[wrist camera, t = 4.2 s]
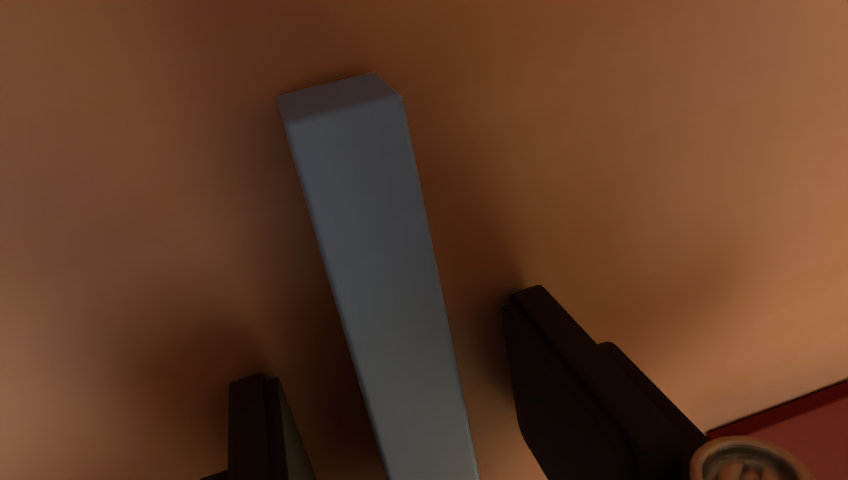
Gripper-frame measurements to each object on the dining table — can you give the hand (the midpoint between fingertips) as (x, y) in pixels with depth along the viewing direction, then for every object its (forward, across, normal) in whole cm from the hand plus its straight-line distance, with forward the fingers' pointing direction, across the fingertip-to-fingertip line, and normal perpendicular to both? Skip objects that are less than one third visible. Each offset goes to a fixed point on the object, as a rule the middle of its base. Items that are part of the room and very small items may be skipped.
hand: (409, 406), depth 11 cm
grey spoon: (0, 0, +2) cm, 2 cm away
